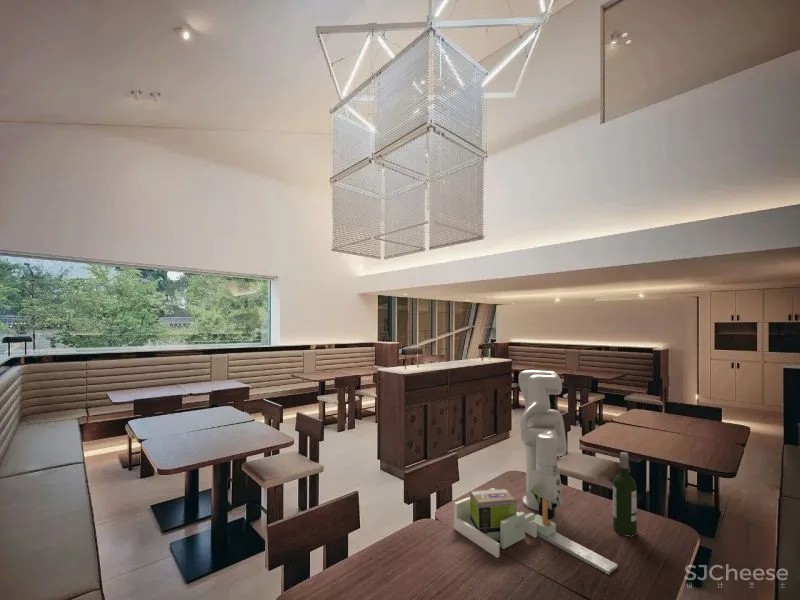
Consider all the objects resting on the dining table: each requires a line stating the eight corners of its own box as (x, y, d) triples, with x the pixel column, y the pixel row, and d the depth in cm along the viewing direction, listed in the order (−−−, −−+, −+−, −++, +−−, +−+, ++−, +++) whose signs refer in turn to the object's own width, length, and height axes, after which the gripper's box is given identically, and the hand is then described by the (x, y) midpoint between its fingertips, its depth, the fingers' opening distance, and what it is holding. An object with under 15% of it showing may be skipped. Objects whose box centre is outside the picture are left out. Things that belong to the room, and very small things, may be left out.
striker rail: (517, 515, 159) (517, 512, 159) (617, 568, 127) (617, 564, 127) (508, 519, 156) (508, 516, 156) (608, 575, 123) (608, 571, 123)
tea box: (505, 525, 152) (506, 487, 152) (517, 540, 142) (517, 499, 142) (469, 528, 149) (469, 489, 150) (478, 543, 139) (478, 502, 140)
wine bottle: (640, 538, 144) (639, 457, 145) (617, 535, 145) (616, 456, 146) (632, 527, 151) (631, 450, 152) (610, 524, 153) (609, 448, 154)
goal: (492, 512, 162) (492, 488, 162) (536, 536, 144) (536, 509, 144) (453, 528, 149) (454, 502, 149) (497, 557, 131) (497, 528, 131)
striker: (537, 524, 152) (537, 488, 152) (555, 534, 145) (555, 496, 146) (497, 544, 138) (497, 505, 138) (515, 556, 131) (515, 515, 132)
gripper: (572, 472, 141) (572, 523, 141) (534, 458, 155) (534, 504, 154) (560, 477, 137) (560, 529, 136) (522, 462, 150) (522, 510, 150)
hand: (546, 516), depth 145 cm, fingers closed on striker, 3 cm apart
